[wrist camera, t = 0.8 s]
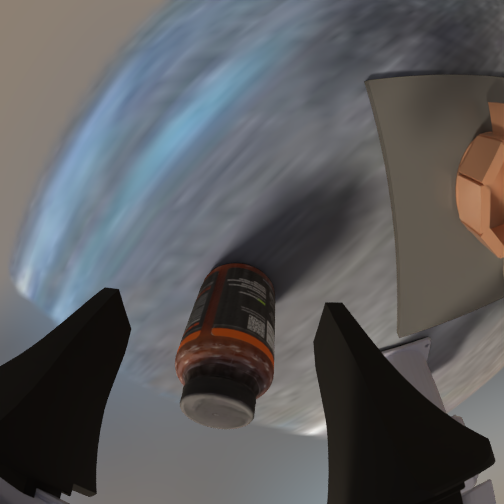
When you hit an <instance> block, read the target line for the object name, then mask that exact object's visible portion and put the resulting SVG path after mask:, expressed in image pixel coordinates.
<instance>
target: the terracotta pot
mask: <svg viewBox="0 0 504 504" xmlns="http://www.w3.org/2000/svg"><path fill="white" fill-rule="evenodd" d="M488 105H489V110H490V116H491V123H492V130H493V132H485V133H482V134H479V136H477V137H476V138H475V139H474V140H473V141H472V142H471V143H470V144H469V145H468V147H467V149H466V150H465V152H464V154H463V156H462V158H461V161H460V164H459V168H458V172H457V177H456V186H455V196H456V205H457V210H458V213H459V218H460V219H461V222H462V223H463V224H464V226H465V227H466V228H467V229H468V230H469V231H470V232H471V233H472V234H473V235H474V236H475V237H476V238H477V239H478V240H479V241H480V242H481V243H482V244H483V245H484V246H486V247H487V248H488V249H489V250H490V251H491V252H492V253H494V254H495V255H496V256H497V257H498V258H499V257H500V258H503V257H504V103H499V102H488Z"/></svg>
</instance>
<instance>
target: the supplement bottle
mask: <svg viewBox="0 0 504 504" xmlns="http://www.w3.org/2000/svg"><path fill="white" fill-rule="evenodd" d="M274 341H275V292H274V288H273V285H272V283H271V281H270V280H269V278H268V277H267V276H266V275H265V274H264V273H263V272H261V271H260V270H258V269H257V268H255V267H252V266H250V265H247V264H241V263H231V264H226V265H222V266H219V267H217V268H215V269H214V270H213V271H211V272H210V273H209V274H208V275H207V277H206V278H205V280H204V282H203V284H202V286H201V288H200V291H199V294H198V297H197V299H196V302H195V304H194V307H193V310H192V313H191V315H190V318H189V321H188V324H187V326H186V329H185V332H184V335H183V337H182V340H181V343H180V346H179V349H178V352H177V355H176V359H175V369H176V373H177V376H178V378H179V380H180V381H181V383H182V384H183V385H184V387H183V393H182V397H181V400H180V408H181V410H182V412H183V413H184V414H185V415H186V416H187V417H188V418H190V419H191V420H193V421H195V422H197V423H199V424H202V425H204V426H207V427H211V428H218V429H236V428H240V427H243V426H246V425H248V424H249V423H250V422H251V421H252V420H253V419H254V413H255V404H256V399H257V398H259V397H260V396H262V395H263V394H264V393H265V392H266V391H267V390H268V389H269V387H270V385H271V383H272V380H273V374H274Z"/></svg>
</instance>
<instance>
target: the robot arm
mask: <svg viewBox="0 0 504 504" xmlns="http://www.w3.org/2000/svg"><path fill="white" fill-rule="evenodd" d="M130 332H131V327H130V324H129V321H128V318H127V314H126V311H125V308H124V305H123V302H122V298H121V295H120V291H119V289H113V288H104V289H102V290H101V291H99V292H98V293H97V294H96V295H94V296H93V297H92V298H91V299H90V300H88V301H87V302H86V303H85V304H84V305H82V306H81V307H80V308H79V309H78V310H76V311H75V312H74V313H73V314H72V315H71V316H69V317H68V318H67V319H66V320H65V321H64V322H62V323H61V324H60V325H59V326H57V327H56V328H55V329H54V330H52V331H51V332H50V333H49V334H47V335H46V336H45V337H44V338H43V339H41V340H40V341H39V342H37V343H36V344H34V345H33V346H32V347H30V348H29V349H27V350H26V351H24V352H23V353H22V354H20V355H19V356H17V357H15V358H13V359H12V360H10V361H8V362H7V363H5V364H3V365H2V366H0V504H69V503H67V502H65V501H63V500H61V499H60V496H61V492H62V493H64V494H66V495H68V496H71V492H72V490H73V491H76V492H78V493H81V494H83V495H86V496H88V497H91V496H94V495H95V494H97V493H96V492H97V491H96V464H97V451H98V443H99V435H100V428H101V424H102V419H103V414H104V409H105V406H106V403H107V399H108V397H109V394H110V391H111V388H112V386H113V383H114V380H115V378H116V375H117V373H118V370H119V367H120V365H121V362H122V360H123V357H124V354H125V351H126V348H127V344H128V340H129V336H130ZM430 345H431V339H430V337H426V338H423V339H421V340H418V341H415V342H412V343H409V344H405V345H402V346H399V347H396V348H393V349H389V350H386V351H382V352H381V351H380V350H379V349H378V348H377V346H376V345H375V344H374V343H373V341H372V340H371V339H370V338H369V337H368V335H367V334H366V333H365V331H364V330H363V329H362V328H361V326H360V325H359V324H358V322H357V321H356V320H355V319H354V317H353V316H352V315H351V313H350V312H349V311H348V309H347V308H346V307H345V306H344V304H343V303H326V302H325V306H324V309H323V312H322V316H321V319H320V322H319V326H318V329H317V332H316V335H315V339H314V355H315V367H316V372H317V377H318V382H319V387H320V392H321V397H322V402H323V408H324V413H325V418H326V425H327V436H328V459H329V479H328V483H329V484H328V502H327V504H496V501H495V495H494V491H493V486H492V482H491V480H490V479H489V480H487V481H485V482H483V483H481V484H479V485H477V486H475V484H476V482H477V478H478V474H479V473H481V472H482V471H484V470H486V469H487V468H489V467H490V466H492V465H493V464H494V463H495V458H494V454H493V451H492V448H491V444H490V441H489V439H488V438H486V437H484V436H482V435H480V434H478V433H476V432H474V431H473V430H471V429H469V428H467V427H466V426H465V424H464V422H463V419H462V418H461V417H459V416H456V415H453V416H452V417H450V416H449V415H448V414H447V413H446V410H445V408H444V405H443V402H442V399H441V397H440V394H439V392H438V389H437V386H436V384H435V381H434V379H433V376H432V374H431V372H430V369H429V367H428V365H427V360H428V355H429V350H430ZM474 486H475V487H474Z"/></svg>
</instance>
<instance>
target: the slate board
mask: <svg viewBox="0 0 504 504" xmlns="http://www.w3.org/2000/svg"><path fill="white" fill-rule="evenodd" d="M365 86H366V89H367V92H368V96H369V99H370V103H371V106H372V110H373V114H374V118H375V122H376V126H377V130H378V134H379V139H380V143H381V148H382V153H383V158H384V163H385V168H386V174H387V180H388V186H389V193H390V200H391V208H392V216H393V225H394V236H395V248H396V264H397V334H398V336H399V338H401V337H404V336H407V335H410V334H414V333H417V332H420V331H422V330H425V329H428V328H431V327H434V326H437V325H439V324H442V323H445V322H447V321H450V320H453V319H455V318H458V317H460V316H463V315H465V314H467V313H470V312H472V311H474V310H477V309H479V308H481V307H484V306H486V305H488V304H490V303H492V302H495V301H497V300H499V299H501V298H503V297H504V275H503V265H504V257H503V258H500V257H499V258H498V257H497V256H496V255H495V254H494V253H492V252H491V251H490V250H489V249H488V248H487V247H486V246H484V245H483V244H482V243H481V242H480V241H479V240H478V239H477V238H476V237H475V236H474V235H473V234H472V233H471V232H470V231H469V230H468V229H467V228H466V227H465V226H464V224H463V223H462V222H461V219H460V218H459V213H458V210H457V205H456V196H455V186H456V177H457V172H458V168H459V164H460V161H461V158H462V156H463V154H464V152H465V150H466V149H467V147H468V145H469V144H470V143H471V142H472V141H473V140H474V139H475V138H476V137H477V136H479V134H482V133H485V132H493V130H492V123H491V116H490V110H489V105H488V102H499V103H504V77H494V76H481V75H419V76H404V77H393V78H384V79H375V80H368V81H365Z"/></svg>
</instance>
